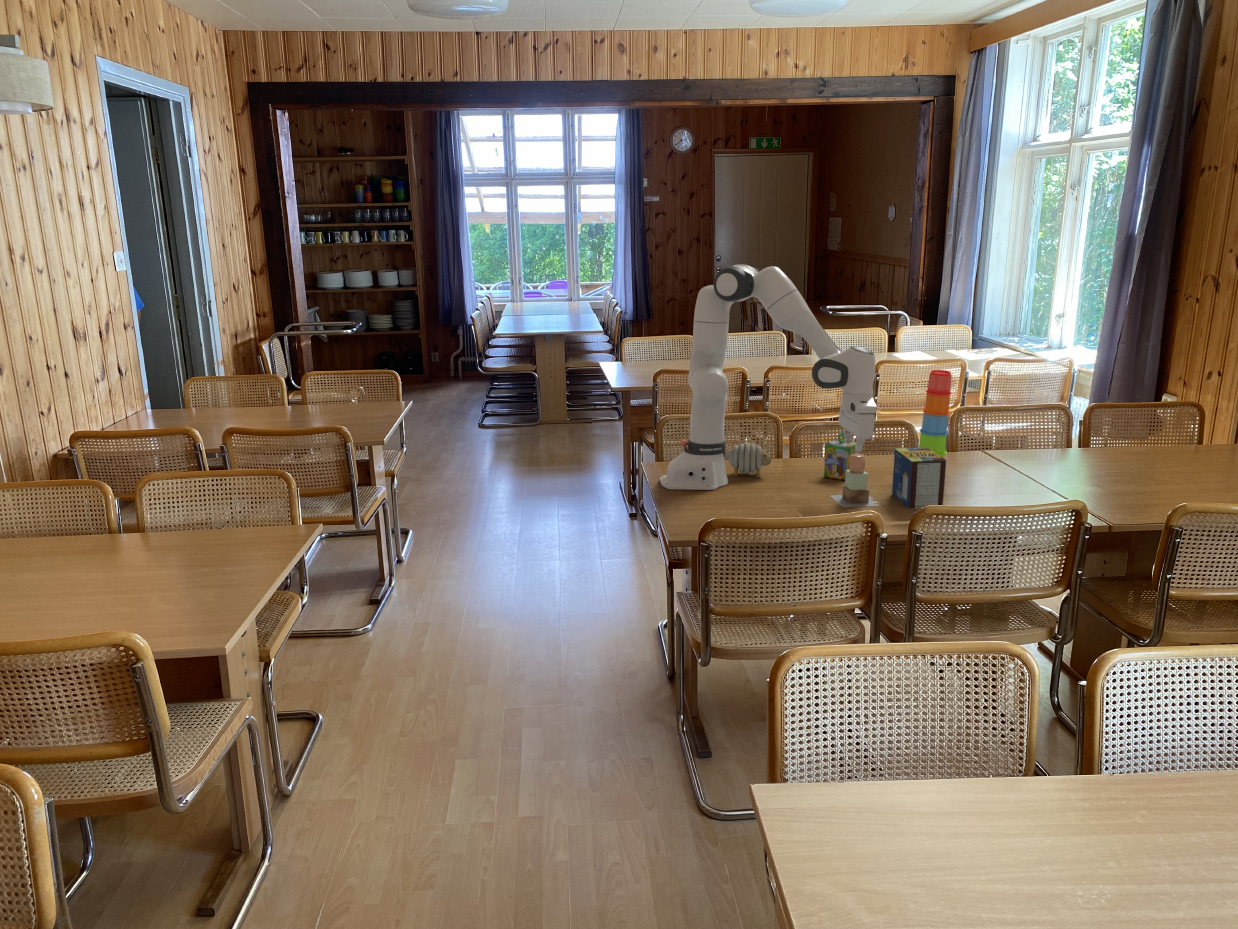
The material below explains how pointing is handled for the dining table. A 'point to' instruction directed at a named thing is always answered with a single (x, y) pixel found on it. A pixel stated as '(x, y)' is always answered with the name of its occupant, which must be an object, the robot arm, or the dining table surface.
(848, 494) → the walnut base block
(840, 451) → the colorful toy box
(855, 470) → the terracotta cylinder
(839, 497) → the slate board
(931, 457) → the protein box
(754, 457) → the toy sheep
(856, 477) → the sage block
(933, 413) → the stacking cups
